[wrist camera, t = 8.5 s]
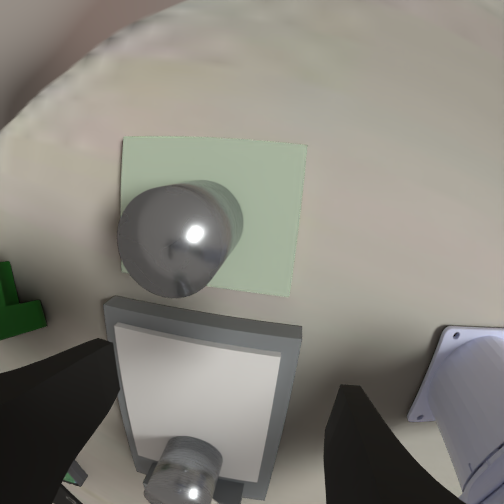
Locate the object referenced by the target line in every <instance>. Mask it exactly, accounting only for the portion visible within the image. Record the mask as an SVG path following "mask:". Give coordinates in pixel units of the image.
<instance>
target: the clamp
mask: <svg viewBox="0 0 504 504" xmlns="http://www.w3.org/2000/svg"><path fill="white" fill-rule="evenodd" d="M46 326H47V323H46V320H45V316H44V313H43V309H42V306H41V302H40V300H36V301H31V302H26V303H21V304H19V300H18V296H17V292H16V287H15V283H14V279H13V274H12V269H11V265H10V262H9V261H6V262H0V340H3V339H6V338H10V337H13V336H16V335H20V334H23V333H26V332H30V331H33V330H36V329H40V328H43V327H46Z"/></svg>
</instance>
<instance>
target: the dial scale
mask: <svg viewBox="0 0 504 504" xmlns="http://www.w3.org/2000/svg"><path fill="white" fill-rule="evenodd" d="M103 307H104V316H105V324H106V332H107V339H108V341H109V342H113V345H114V352H115V359H116V366H117V372H118V379H119V384H120V391H119V393H118V395H117V396H118V401H119V406H120V410H121V414H122V419H123V423H124V427H125V431H126V435H127V439H128V443H129V446H130V450H131V453H132V457H133V460H134V464H135V467H136V470H137V472H140V473H143V474H146V477H145V479H144V481H143V485H144V488H146V486H147V484H148V482H149V480H150V478H151V476H152V474H153V472H154V470H155V468H156V465H157V463H158V461H159V459H160V457H161V455H162V453H163V451H164V449H165V446H166V444H167V442H168V441H169V440H170V439H171V438H173V437H176V436H190V437H195V438H198V439H201V440H204V441H206V442H208V443H210V444H211V445H213V446H214V447H215V448H216V449H218V451H219V452H220V453H221V455H222V457H223V463H222V466H221V470H220V473H219V477H218V480H217V484H216V487H215V491H214V494H213V498H212V501H211V504H241V500H242V498H249V499H256V500H264V501H265V497H266V494H267V490H268V486H269V483H270V479H271V475H272V471H273V468H274V464H275V460H276V456H277V452H278V448H279V444H280V440H281V435H282V431H283V427H284V423H285V418H286V414H287V410H288V405H289V401H290V396H291V391H292V387H293V382H294V377H295V372H296V367H297V362H298V357H299V352H300V347H301V342H302V326H295V325H286V324H279V323H271V322H264V321H256V320H249V319H242V318H236V317H229V316H223V315H216V314H210V313H204V312H198V311H192V310H187V309H181V308H175V307H170V306H164V305H159V304H154V303H149V302H144V301H139V300H134V299H129V298H124V297H119V296H114V297H113V298H111V299H110V300H109V301H107V302H106V303H105V304H104V305H103Z"/></svg>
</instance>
